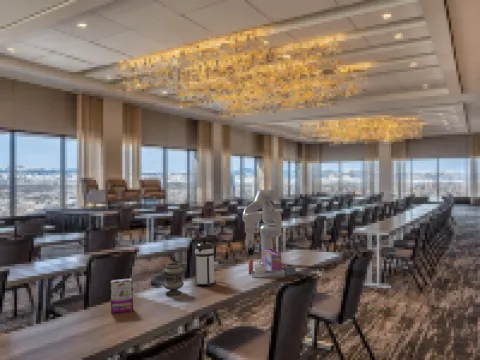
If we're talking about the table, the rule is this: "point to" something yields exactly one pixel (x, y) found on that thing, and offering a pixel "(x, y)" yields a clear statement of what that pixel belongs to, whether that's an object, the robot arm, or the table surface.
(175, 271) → the apothecary jar
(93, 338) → the table surface
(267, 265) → the gum box
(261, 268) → the crate
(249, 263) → the handle peg
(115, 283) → the candy bar box
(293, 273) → the square tube with block
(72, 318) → the table surface
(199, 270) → the coffee press
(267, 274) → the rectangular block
